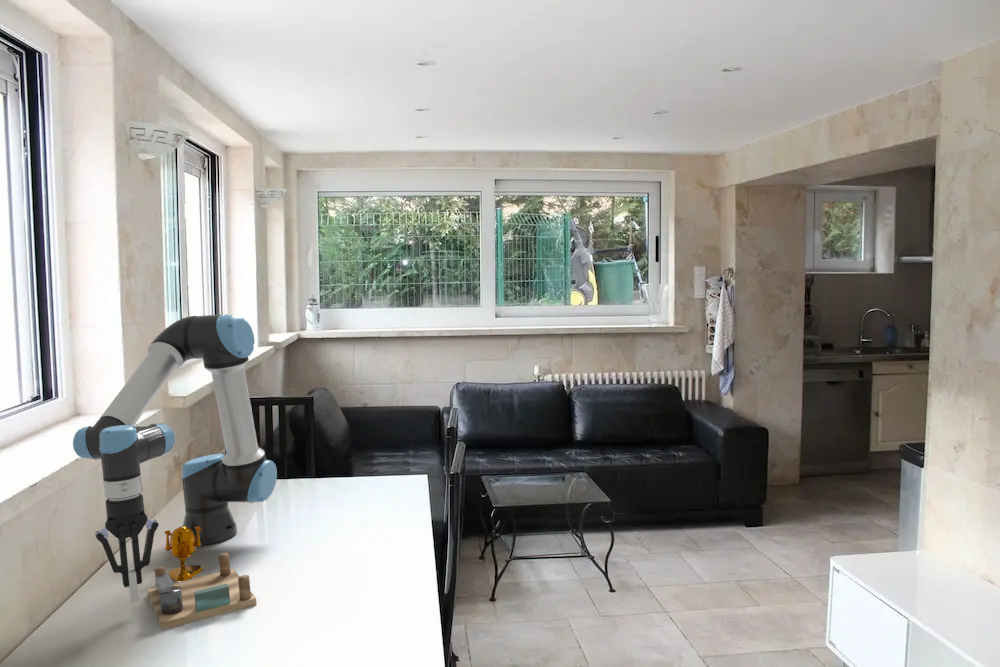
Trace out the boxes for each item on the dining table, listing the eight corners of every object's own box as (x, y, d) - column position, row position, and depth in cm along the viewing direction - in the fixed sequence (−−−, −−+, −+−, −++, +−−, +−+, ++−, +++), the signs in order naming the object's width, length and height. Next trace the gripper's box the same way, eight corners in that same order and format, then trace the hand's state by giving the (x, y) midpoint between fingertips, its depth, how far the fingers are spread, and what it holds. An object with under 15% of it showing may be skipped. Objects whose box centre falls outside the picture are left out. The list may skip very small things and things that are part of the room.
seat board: (147, 595, 188) (145, 569, 187) (234, 574, 198) (231, 549, 197) (162, 629, 169) (159, 600, 168) (256, 604, 179) (254, 576, 179)
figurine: (205, 563, 207) (201, 518, 206) (201, 578, 197) (197, 531, 195) (170, 568, 205) (165, 523, 203) (164, 584, 194) (160, 536, 193)
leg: (184, 610, 174) (182, 591, 173) (163, 616, 172) (161, 596, 171) (173, 588, 187) (171, 570, 186) (153, 593, 185) (151, 574, 184)
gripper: (92, 506, 168) (103, 612, 170) (158, 494, 175) (168, 596, 177) (89, 498, 175) (100, 601, 177) (153, 486, 181) (162, 586, 183)
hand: (134, 598), depth 177 cm, fingers closed
